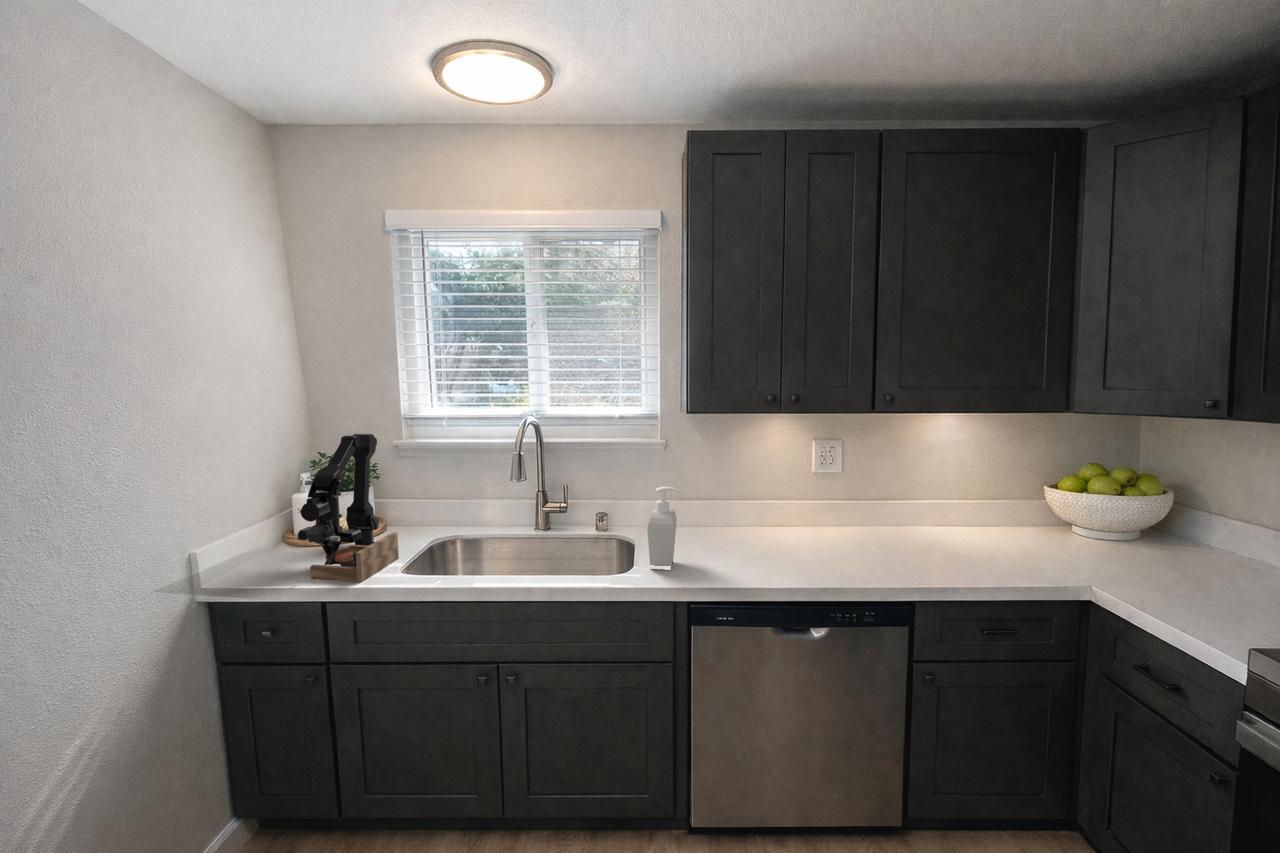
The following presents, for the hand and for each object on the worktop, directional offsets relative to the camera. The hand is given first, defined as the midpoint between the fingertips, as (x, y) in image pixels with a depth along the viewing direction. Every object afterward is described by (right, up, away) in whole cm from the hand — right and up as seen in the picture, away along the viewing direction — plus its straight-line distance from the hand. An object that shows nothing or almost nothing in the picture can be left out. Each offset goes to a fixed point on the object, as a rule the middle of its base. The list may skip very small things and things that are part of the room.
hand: (331, 560), depth 196 cm
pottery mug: (+7, -3, -4) cm, 8 cm away
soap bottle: (+106, -3, +4) cm, 106 cm away
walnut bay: (+8, -2, -1) cm, 8 cm away
